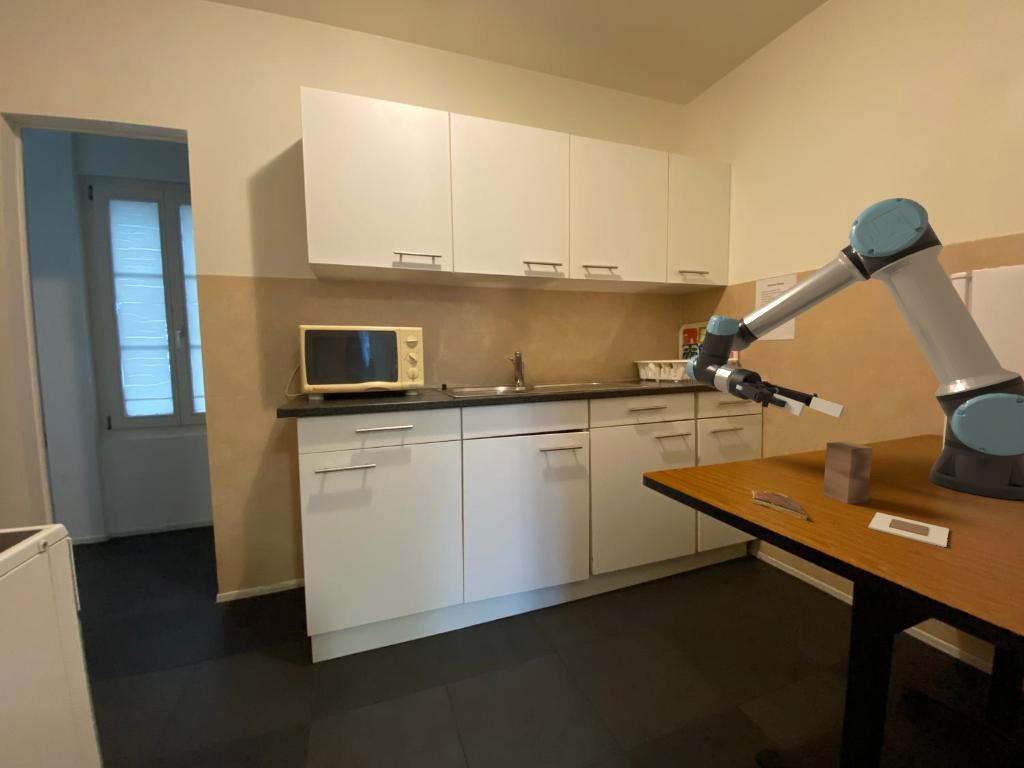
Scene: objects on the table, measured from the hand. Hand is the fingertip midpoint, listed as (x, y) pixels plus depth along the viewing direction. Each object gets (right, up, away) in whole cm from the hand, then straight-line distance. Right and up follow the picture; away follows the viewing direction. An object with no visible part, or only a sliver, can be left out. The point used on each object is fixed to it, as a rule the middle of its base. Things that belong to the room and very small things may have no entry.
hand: (822, 411), depth 86 cm
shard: (-14, -19, -8) cm, 25 cm away
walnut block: (+1, -17, -4) cm, 18 cm away
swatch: (0, -19, -18) cm, 26 cm away
